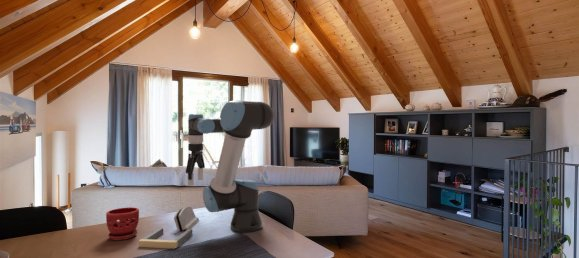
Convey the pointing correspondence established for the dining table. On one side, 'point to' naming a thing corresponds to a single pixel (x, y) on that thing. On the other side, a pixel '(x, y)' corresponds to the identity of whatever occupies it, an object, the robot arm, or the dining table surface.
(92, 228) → the dining table surface
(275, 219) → the dining table surface
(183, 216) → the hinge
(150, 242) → the bracket
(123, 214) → the plant pot
